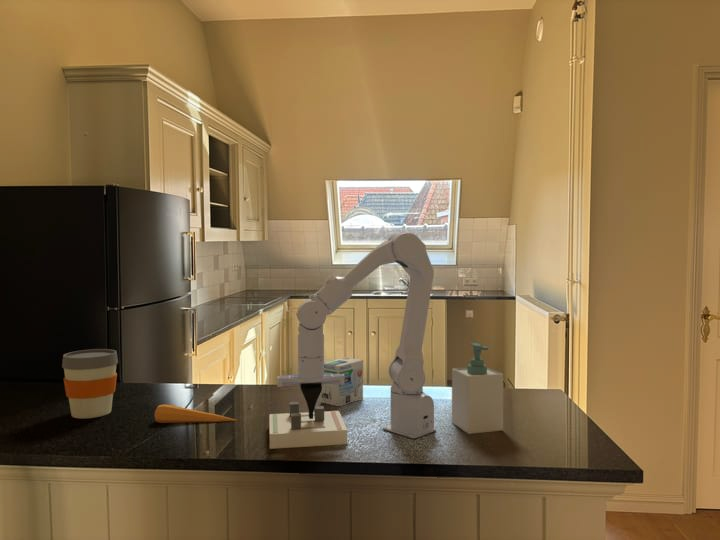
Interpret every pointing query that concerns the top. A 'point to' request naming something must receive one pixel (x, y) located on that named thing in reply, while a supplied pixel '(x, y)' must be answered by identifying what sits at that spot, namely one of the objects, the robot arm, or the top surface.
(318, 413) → the block
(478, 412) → the soap bottle
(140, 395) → the top surface
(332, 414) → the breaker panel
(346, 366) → the light bulb box
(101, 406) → the reusable coffee cup
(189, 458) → the top surface
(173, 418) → the carrot
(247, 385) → the top surface
